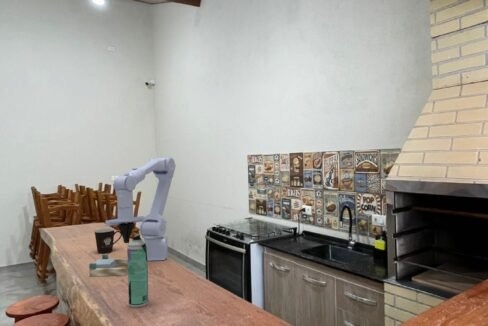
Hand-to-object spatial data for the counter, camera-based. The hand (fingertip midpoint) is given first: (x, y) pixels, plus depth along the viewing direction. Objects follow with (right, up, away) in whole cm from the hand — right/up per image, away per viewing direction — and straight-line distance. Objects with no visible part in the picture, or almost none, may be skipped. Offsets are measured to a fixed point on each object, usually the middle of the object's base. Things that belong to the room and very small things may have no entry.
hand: (126, 242), depth 136 cm
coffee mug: (-18, -11, +28) cm, 35 cm away
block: (-9, -11, 0) cm, 14 cm away
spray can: (+15, -11, -33) cm, 38 cm away
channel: (-5, -11, 0) cm, 11 cm away
